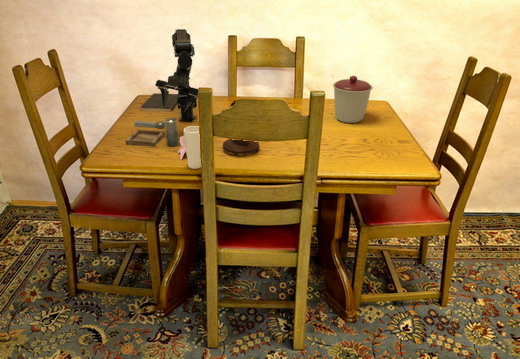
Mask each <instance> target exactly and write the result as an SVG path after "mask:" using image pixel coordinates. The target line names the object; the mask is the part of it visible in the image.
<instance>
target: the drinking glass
mask: <svg viewBox="0 0 520 359" xmlns="http://www.w3.org/2000/svg"><path fill="white" fill-rule="evenodd" d="M199 127H200V126H198V125H191V126H189V125H188V126H187V127H185V128H183V136H184V142H185V148H186V151H185V153H186V159H187V165H188V168H189V169H192V170H197V169H200V168H202V166H201V159H200V134H199Z"/></svg>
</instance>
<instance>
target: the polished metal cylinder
mask: <svg viewBox="0 0 520 359" xmlns="http://www.w3.org/2000/svg"><path fill="white" fill-rule="evenodd" d="M177 121H178V120H177V118H175V117H166V118H165V119H164V122H165V136H166V137H165V138H166V145H167V147H170V148H175V147H177V146H179V138H178V137H179V134H178V124H177Z"/></svg>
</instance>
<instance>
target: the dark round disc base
mask: <svg viewBox="0 0 520 359" xmlns="http://www.w3.org/2000/svg"><path fill="white" fill-rule="evenodd" d="M237 100H238V99H237ZM237 100H236V99H235V100H233V101H232V102H231V104H230V106H229V108H230V107H231V106H233V105H234V104H235V102H236V101H237ZM222 149H223V150H224V151H225V152H227V153H229V154H234V156H235V157H238V156H239V155H246V154H247V155H248V154H252V153H255V152H257V153H258V151H259V149H260V143H259V141H258V142H254V141H243V140H232V139H230V138H227V139H226V140H225V141H223V143H222Z"/></svg>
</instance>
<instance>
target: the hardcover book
mask: <svg viewBox="0 0 520 359" xmlns="http://www.w3.org/2000/svg"><path fill="white" fill-rule="evenodd" d="M177 96H178V93H169V94H168V98H167V101H166V105H165V107H164V106H163V102H162V94H161V92H160V93H159V92H158V93H152V94H151V95H150V97H148V98H147V99H146V100H145V101H144V103H143V104H141V105H140V107H139V108H140V111H147V112H148V111H150V112H152V111H153V112H173V111H174V110H175V108H176V107H177V106H178V105H177Z"/></svg>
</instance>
